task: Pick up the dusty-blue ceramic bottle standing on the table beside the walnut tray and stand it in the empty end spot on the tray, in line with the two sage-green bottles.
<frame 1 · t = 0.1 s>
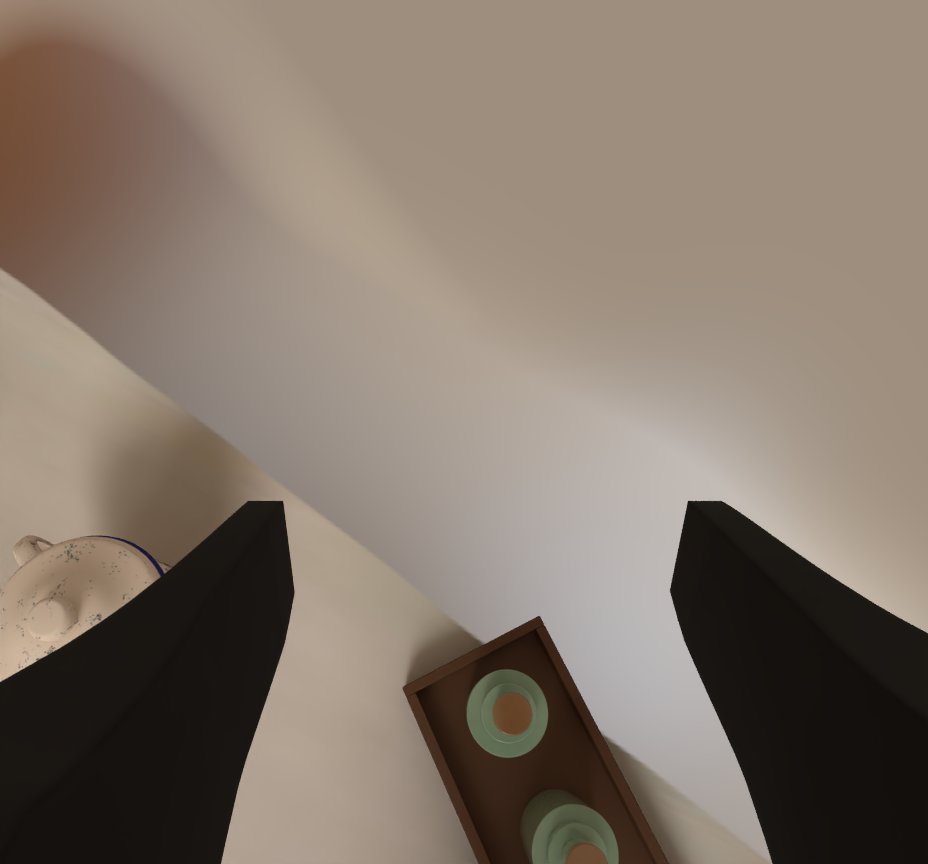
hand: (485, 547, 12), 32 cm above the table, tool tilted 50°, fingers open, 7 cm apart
green bottle mid: (556, 830, 38), point 1 cm above the table, touching tray
cream enamel lidded pot: (136, 622, 42), on the table
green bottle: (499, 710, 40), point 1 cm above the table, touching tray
tray: (555, 828, 39), on the table
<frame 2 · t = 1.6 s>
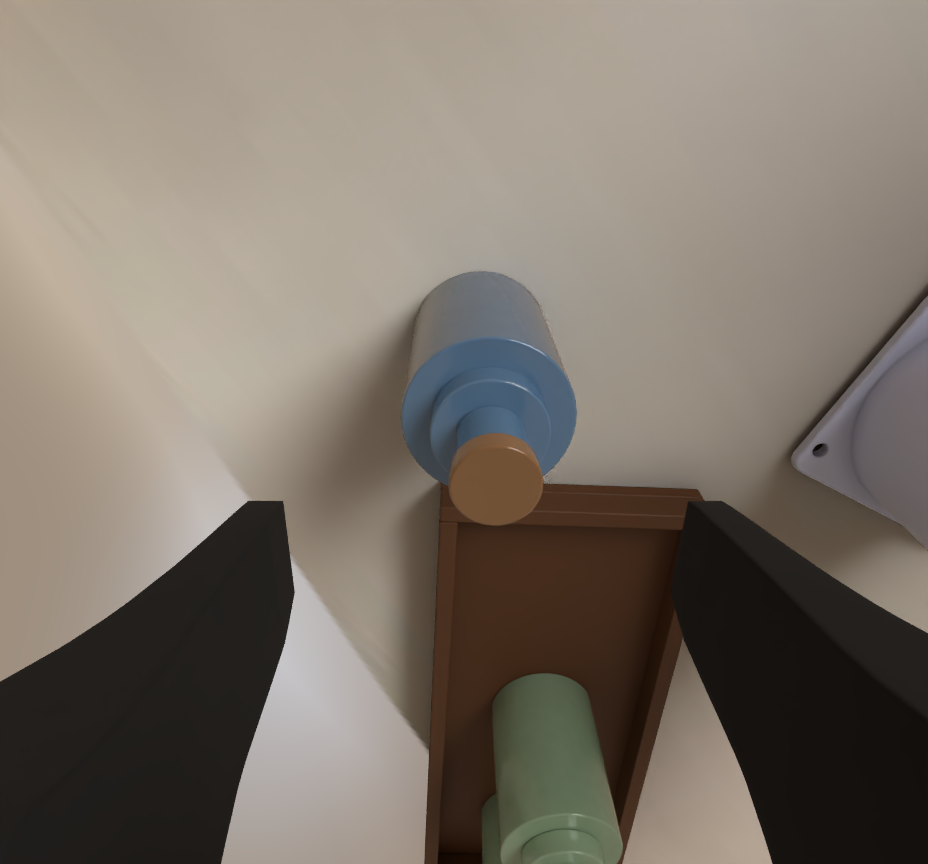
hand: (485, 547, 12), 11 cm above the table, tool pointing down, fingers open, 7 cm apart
green bottle mid: (541, 708, 28), point 1 cm above the table, touching tray
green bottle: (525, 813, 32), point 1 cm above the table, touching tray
tray: (539, 697, 29), on the table
blue bottle: (479, 336, 21), on the table
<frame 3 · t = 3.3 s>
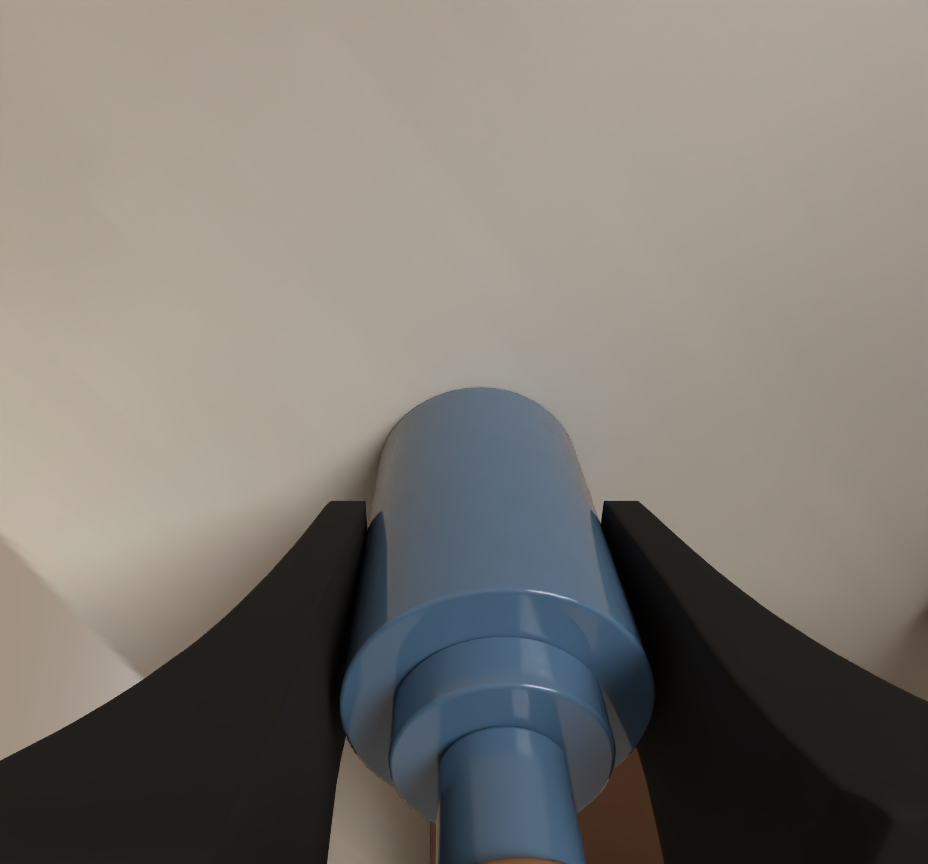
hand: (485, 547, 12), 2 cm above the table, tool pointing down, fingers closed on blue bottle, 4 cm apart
blue bottle: (477, 477, 14), on the table, touching gripper
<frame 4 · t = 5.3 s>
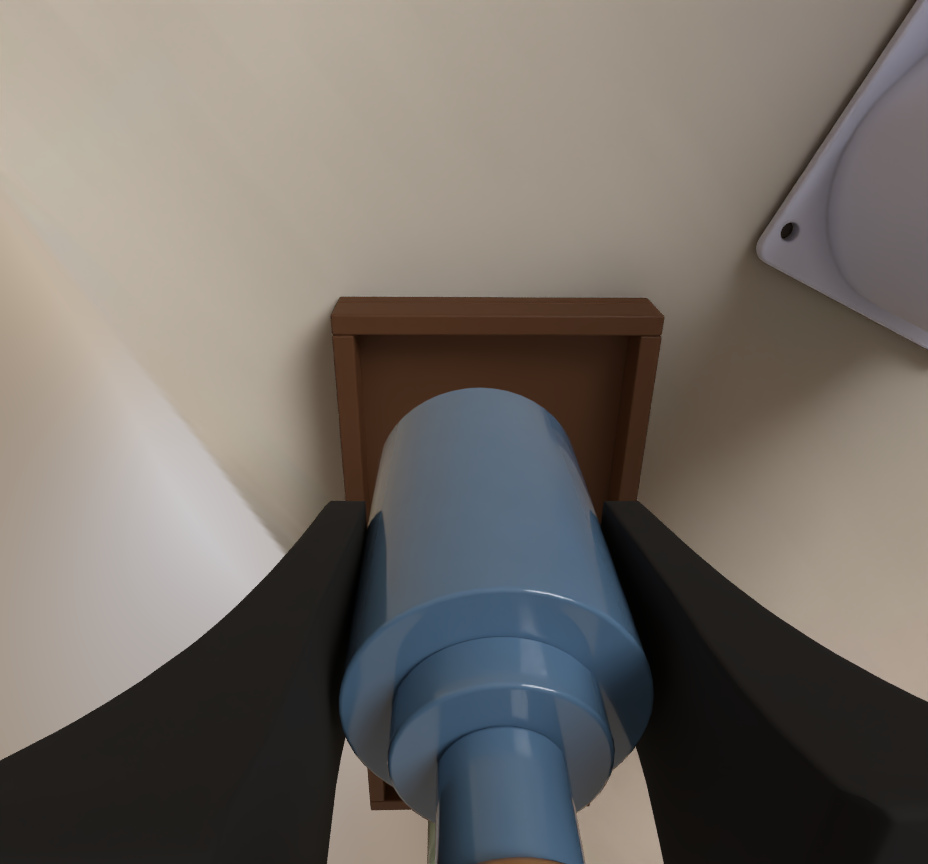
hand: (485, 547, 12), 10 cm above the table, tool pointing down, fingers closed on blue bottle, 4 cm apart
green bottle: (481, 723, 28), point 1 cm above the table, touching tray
tray: (485, 580, 25), on the table
blue bottle: (477, 477, 14), point 7 cm above the table, touching gripper
when the fingers open (3 cm above the table, at t = 7.5 s): blue bottle stays where it is, resting on tray.
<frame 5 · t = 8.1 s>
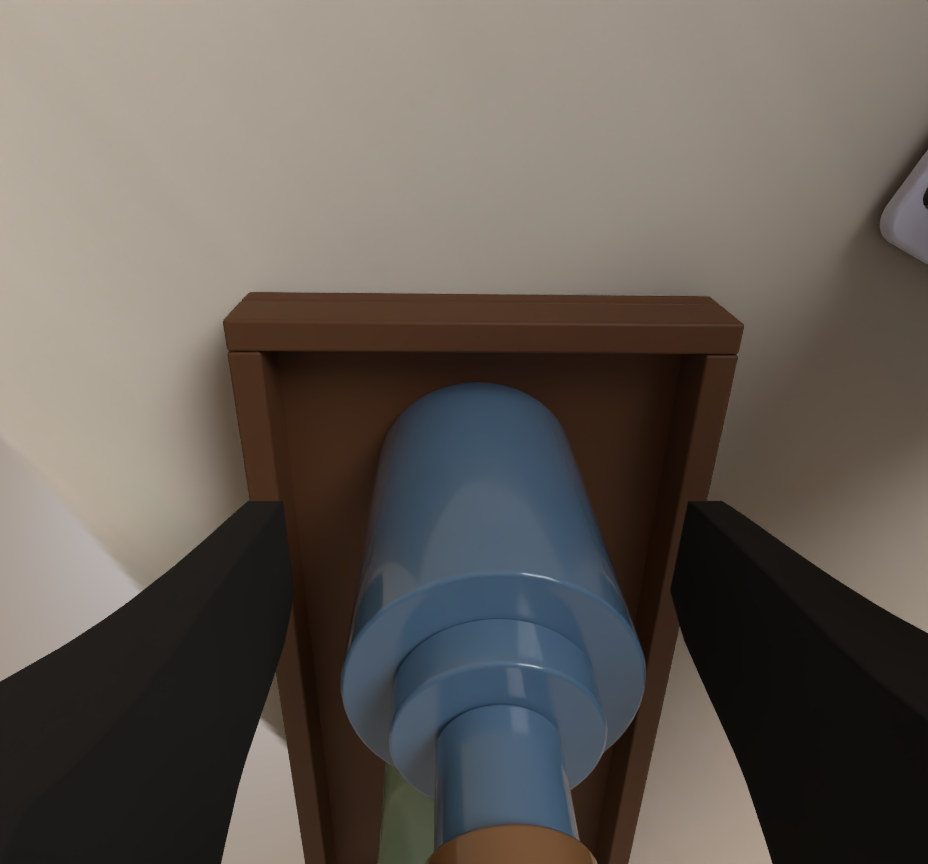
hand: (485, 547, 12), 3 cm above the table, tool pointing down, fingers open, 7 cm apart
green bottle mid: (471, 698, 18), point 1 cm above the table, touching tray
tray: (470, 680, 18), on the table
blue bottle: (475, 470, 15), point 1 cm above the table, touching tray
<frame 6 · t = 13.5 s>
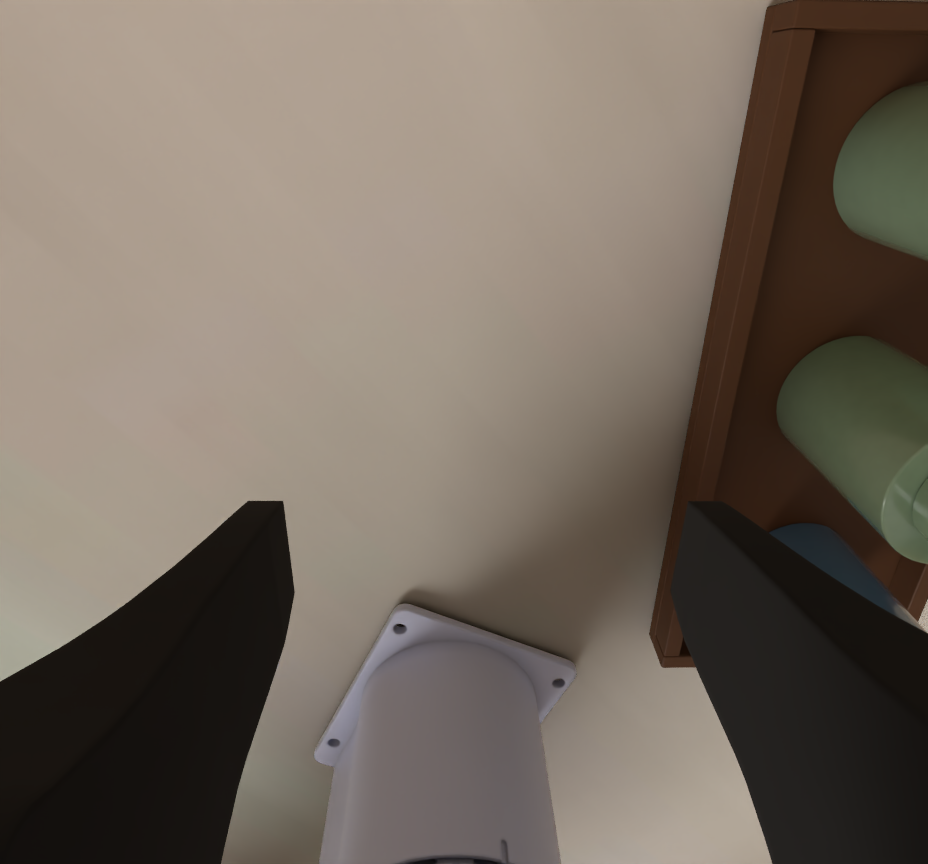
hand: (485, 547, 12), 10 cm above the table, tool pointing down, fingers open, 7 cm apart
green bottle mid: (841, 397, 22), point 1 cm above the table, touching tray
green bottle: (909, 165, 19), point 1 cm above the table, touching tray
tray: (831, 389, 22), on the table
blue bottle: (791, 569, 25), point 1 cm above the table, touching tray
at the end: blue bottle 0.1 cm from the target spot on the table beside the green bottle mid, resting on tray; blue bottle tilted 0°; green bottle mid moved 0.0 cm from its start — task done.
